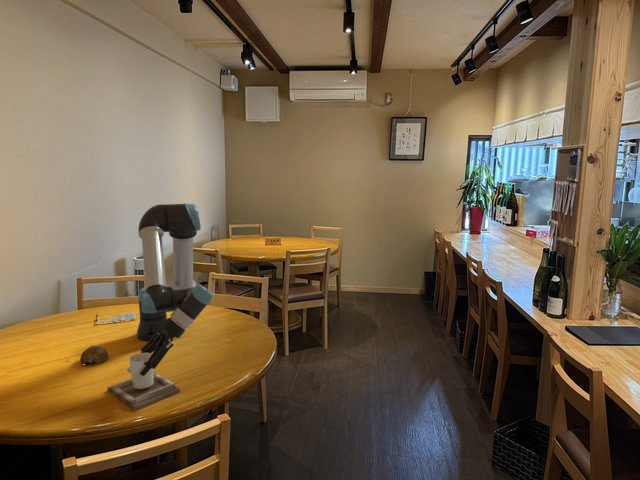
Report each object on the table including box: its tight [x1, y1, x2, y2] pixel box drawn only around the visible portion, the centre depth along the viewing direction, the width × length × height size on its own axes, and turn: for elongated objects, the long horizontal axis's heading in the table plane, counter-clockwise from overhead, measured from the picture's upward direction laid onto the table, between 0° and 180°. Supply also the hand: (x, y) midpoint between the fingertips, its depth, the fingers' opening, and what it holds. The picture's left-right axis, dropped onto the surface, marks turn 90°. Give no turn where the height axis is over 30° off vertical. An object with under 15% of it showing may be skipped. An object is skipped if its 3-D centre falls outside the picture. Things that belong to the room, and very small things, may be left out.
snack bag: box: [96, 311, 136, 323], centre depth 231 cm, size 19×20×2 cm
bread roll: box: [79, 345, 109, 366], centre depth 178 cm, size 10×10×8 cm
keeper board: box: [106, 371, 181, 411], centre depth 153 cm, size 20×16×2 cm
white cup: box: [128, 352, 155, 389], centre depth 152 cm, size 8×8×10 cm
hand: (132, 376), depth 151 cm, fingers closed on white cup, 8 cm apart
